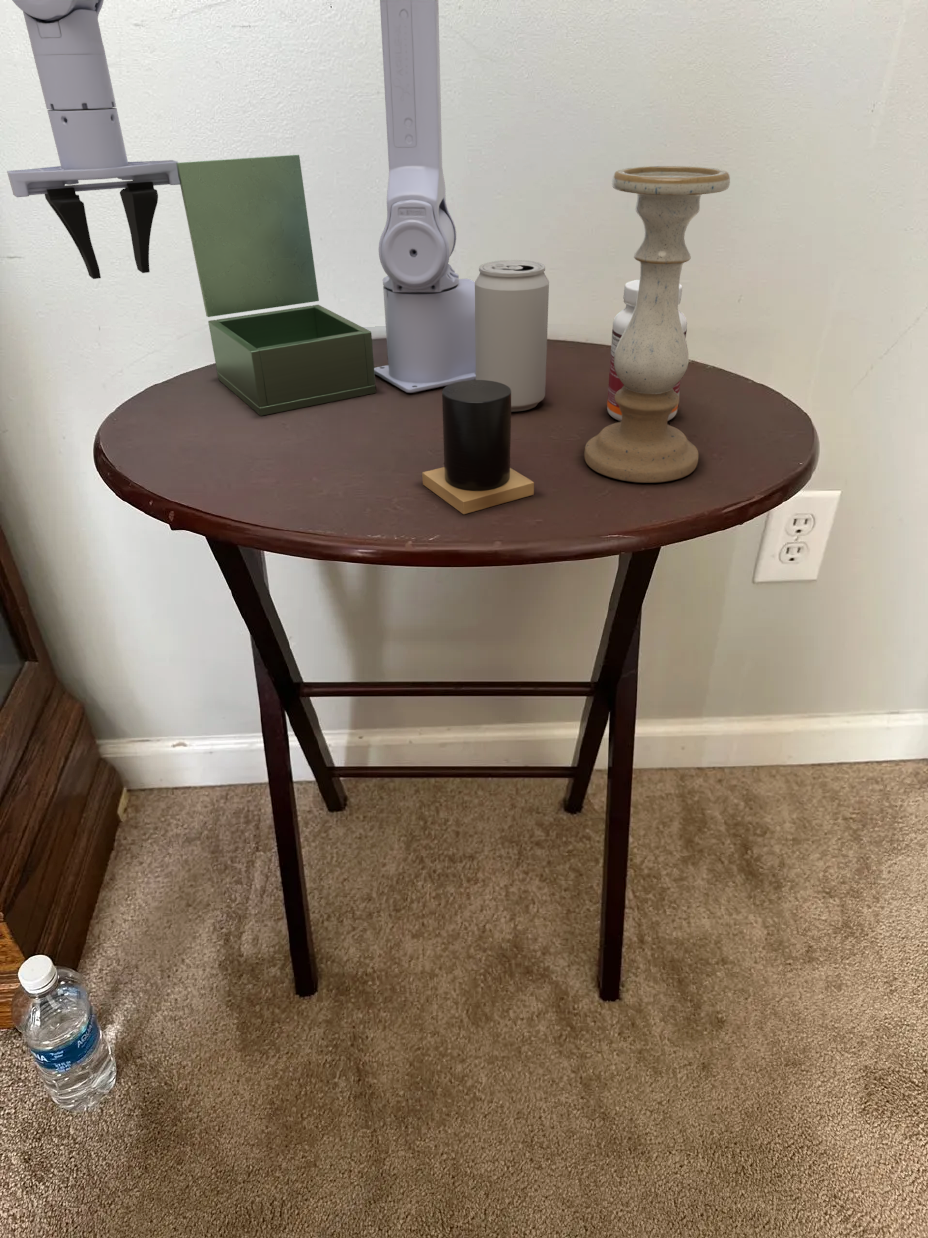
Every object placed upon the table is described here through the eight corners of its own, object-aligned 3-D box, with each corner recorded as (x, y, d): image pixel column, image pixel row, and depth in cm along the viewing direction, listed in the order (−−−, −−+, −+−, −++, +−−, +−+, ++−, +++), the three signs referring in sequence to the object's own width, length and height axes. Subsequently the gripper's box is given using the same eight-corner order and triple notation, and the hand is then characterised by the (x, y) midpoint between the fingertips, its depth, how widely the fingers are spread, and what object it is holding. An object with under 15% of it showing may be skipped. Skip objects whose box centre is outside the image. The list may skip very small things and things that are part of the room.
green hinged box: (376, 392, 81) (371, 331, 78) (260, 416, 76) (250, 351, 73) (324, 360, 90) (318, 304, 87) (218, 379, 85) (207, 320, 82)
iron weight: (432, 473, 63) (429, 387, 59) (487, 459, 65) (487, 375, 61) (466, 496, 59) (464, 406, 56) (522, 481, 61) (524, 393, 58)
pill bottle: (653, 399, 79) (667, 273, 72) (690, 421, 74) (708, 288, 68) (593, 408, 77) (602, 280, 71) (627, 431, 72) (640, 295, 66)
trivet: (490, 467, 66) (490, 454, 66) (533, 494, 62) (534, 482, 61) (422, 484, 64) (422, 472, 63) (463, 514, 59) (463, 501, 59)
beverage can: (540, 416, 75) (545, 273, 69) (469, 412, 76) (467, 271, 70) (548, 393, 80) (554, 258, 74) (482, 389, 81) (482, 256, 75)
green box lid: (299, 154, 80) (297, 154, 81) (177, 162, 75) (175, 162, 76) (319, 300, 87) (317, 300, 87) (208, 317, 82) (206, 316, 82)
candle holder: (561, 462, 66) (576, 172, 55) (626, 432, 72) (652, 161, 60) (656, 495, 61) (694, 182, 50) (718, 459, 67) (765, 169, 55)
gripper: (154, 104, 80) (183, 258, 87) (-14, 110, 74) (32, 275, 81) (174, 106, 75) (203, 269, 82) (-5, 113, 69) (44, 289, 76)
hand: (119, 273), depth 81 cm, fingers open, 4 cm apart
